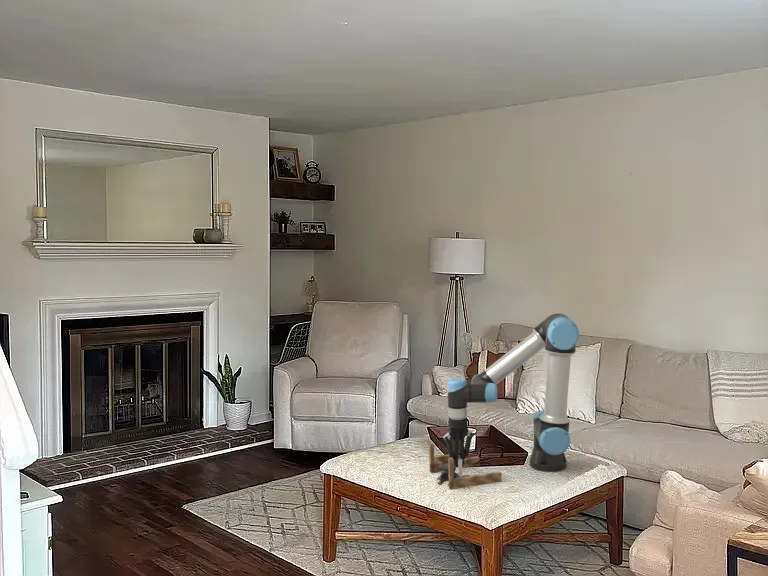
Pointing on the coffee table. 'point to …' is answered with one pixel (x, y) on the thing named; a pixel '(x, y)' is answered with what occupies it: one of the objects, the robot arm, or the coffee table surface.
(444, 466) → the mat
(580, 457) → the coffee table surface
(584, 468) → the coffee table surface
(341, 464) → the coffee table surface
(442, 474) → the stuffed animal
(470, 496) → the coffee table surface
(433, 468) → the wooden rail pieces
